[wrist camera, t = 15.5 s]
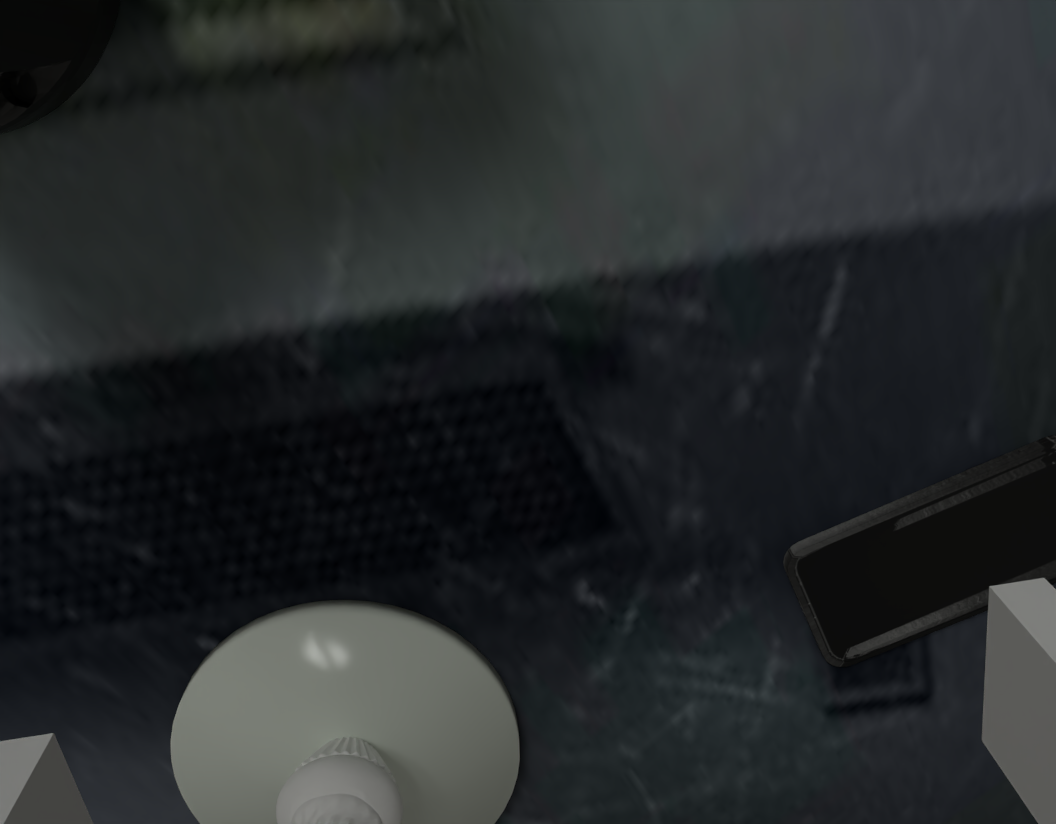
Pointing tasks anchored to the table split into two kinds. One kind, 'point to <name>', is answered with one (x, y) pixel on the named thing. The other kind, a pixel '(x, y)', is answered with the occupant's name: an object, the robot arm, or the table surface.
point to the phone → (928, 556)
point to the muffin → (341, 788)
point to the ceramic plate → (346, 713)
